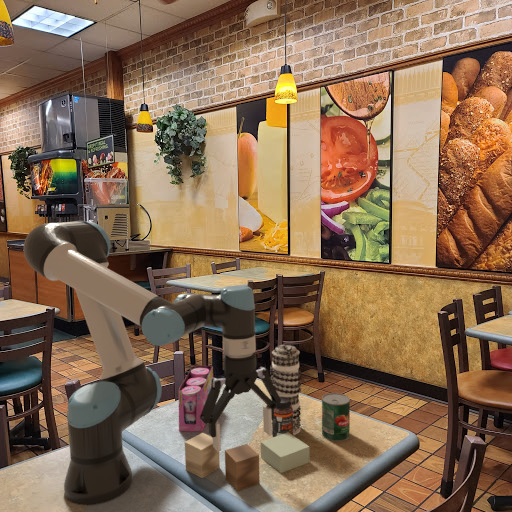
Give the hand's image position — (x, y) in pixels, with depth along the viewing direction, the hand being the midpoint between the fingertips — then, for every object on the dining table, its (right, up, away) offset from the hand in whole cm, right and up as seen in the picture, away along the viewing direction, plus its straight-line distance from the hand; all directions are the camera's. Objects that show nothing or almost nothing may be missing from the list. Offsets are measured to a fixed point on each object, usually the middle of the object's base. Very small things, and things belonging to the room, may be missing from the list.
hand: (243, 440), depth 109 cm
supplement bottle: (+11, -8, +22) cm, 26 cm away
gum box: (-16, -7, +37) cm, 41 cm away
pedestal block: (+10, -10, +11) cm, 18 cm away
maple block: (-10, -11, +7) cm, 16 cm away
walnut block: (0, -11, +1) cm, 11 cm away
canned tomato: (+26, -8, +24) cm, 36 cm away
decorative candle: (+12, -8, +28) cm, 31 cm away
